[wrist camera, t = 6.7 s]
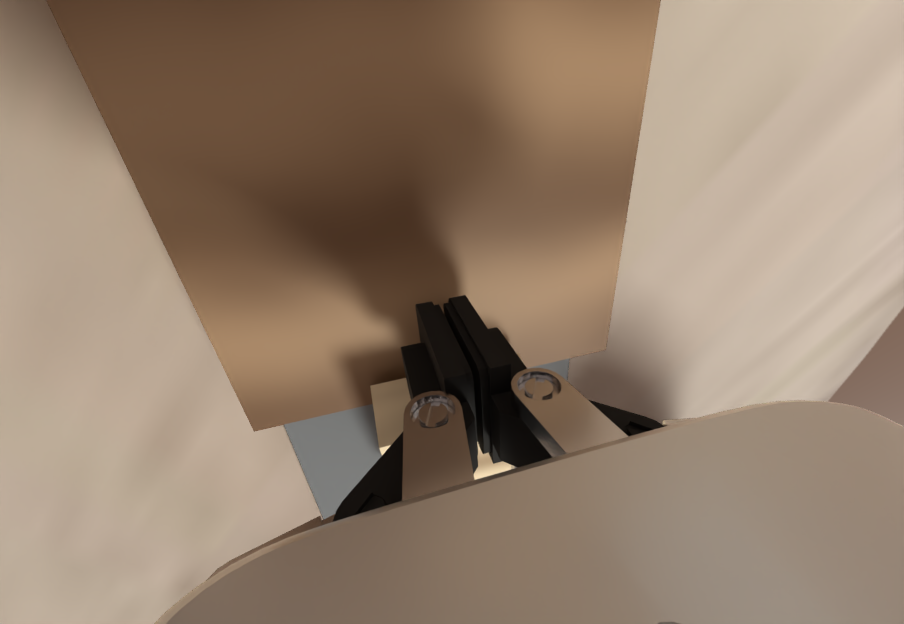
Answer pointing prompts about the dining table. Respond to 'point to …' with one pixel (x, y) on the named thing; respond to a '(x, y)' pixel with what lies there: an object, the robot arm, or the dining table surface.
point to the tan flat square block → (374, 172)
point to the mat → (346, 449)
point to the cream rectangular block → (391, 416)
